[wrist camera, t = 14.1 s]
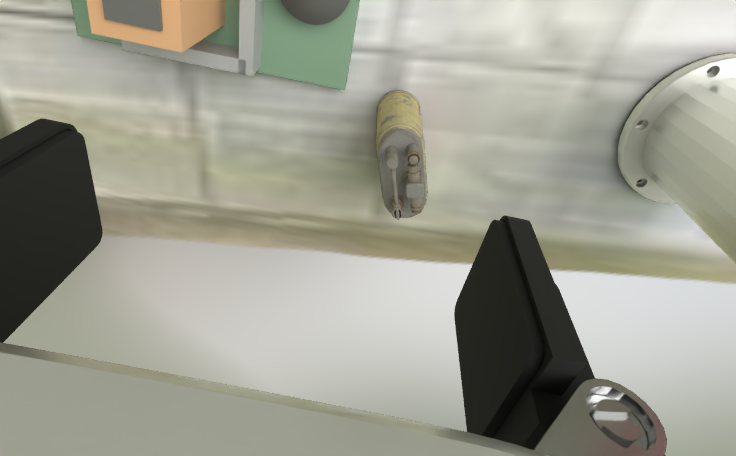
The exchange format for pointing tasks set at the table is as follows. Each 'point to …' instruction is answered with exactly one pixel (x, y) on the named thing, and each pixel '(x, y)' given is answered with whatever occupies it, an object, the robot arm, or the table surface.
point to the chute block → (157, 21)
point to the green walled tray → (265, 39)
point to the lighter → (401, 154)
